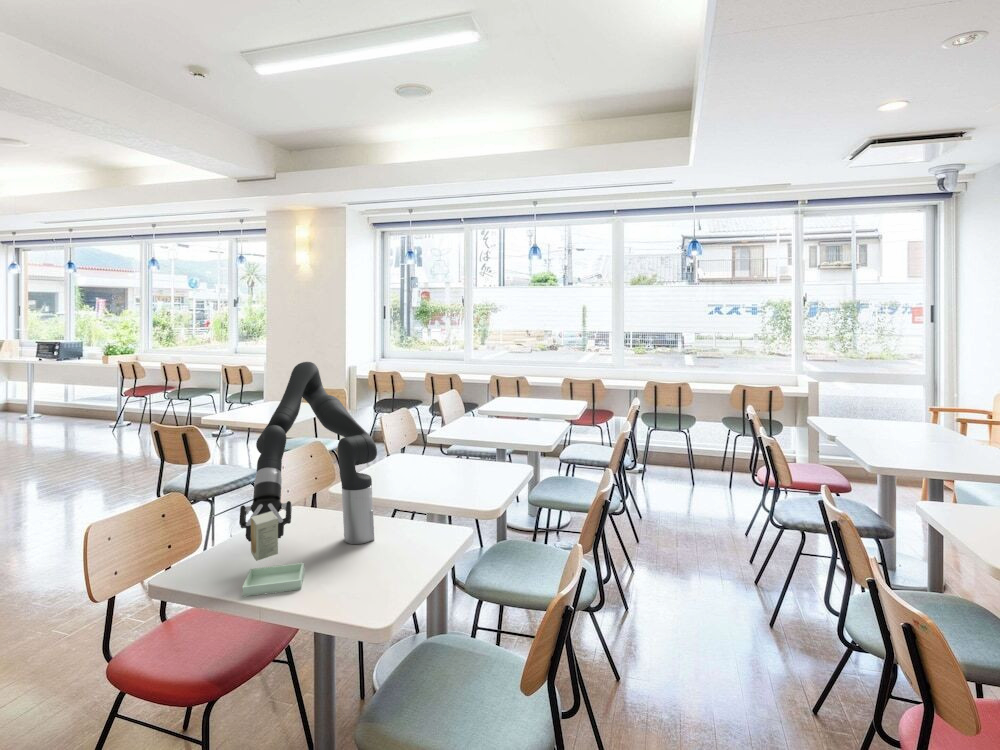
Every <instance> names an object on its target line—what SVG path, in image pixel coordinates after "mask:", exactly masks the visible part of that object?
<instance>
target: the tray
mask: <svg viewBox="0 0 1000 750" xmlns="http://www.w3.org/2000/svg"><path fill="white" fill-rule="evenodd" d="M304 576H305V562H298V563H290V564H288V563H287V564H282V565H273V566H264V567H257V568H250V569H249V571H248V572H247V576H246V578H245V581H244V583H243V585H242V597H243V596H246V597H250V596H249V595H253V596H258V595H257V594H261V595H266V594H265V593H269V594H276V593H275V592H277V593H283V592H284V591H285V592H290V591H298V590H302V586H303V582H304Z"/></svg>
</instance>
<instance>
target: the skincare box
mask: <svg viewBox="0 0 1000 750" xmlns="http://www.w3.org/2000/svg"><path fill="white" fill-rule="evenodd" d="M250 517H251V516H250ZM250 553H251V554H250V555H251V556H252V557H253V558H254V560H255V561H256V562H259V561H261V560H264V559H266V558H267V559H268V558H270V557H272V556H274V555H278V553H279V538H278V517H277V516H276V515H275V514H274V512H273V511H270V512H266V513H263V514H259V515H256V516H253V517H251V541H250Z"/></svg>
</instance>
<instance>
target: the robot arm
mask: <svg viewBox="0 0 1000 750" xmlns="http://www.w3.org/2000/svg"><path fill="white" fill-rule="evenodd" d="M302 399H303V400H304V401H306V402H307V404H308V405H309V406H310V408H311V410H312V412H313V413H314V415H315V416H316V418H317V420H318V421H319V422H320V424H321V425H322V426H323V428H325V430H328V431H330V432H331V433H335V434H337V435H339V436H341V437H342V438H340V440H339V441H338V443H337V458H338V467H339V477H340V478H339V479H340V481H341V496H342V497H341V499H342V517H343V518H342V519H343V523H342V524H343V538H344V539H343V540H344V542H345V543H347V544H350V545H361V544H365V543H368V542H372V541H375V526H374V524H375V523H374V521H375V520H374V504H373V486H372V485H373V483H372V482H373V479H372V476H371V475H369V474H368V473H363V472H357V470H356V466H360V465H365V464H369V463H372V462H373V461H374V460H375V459H376V458H377V456H378V449H377V446H376V442H375V440H374V439H373V437H371V435H370V434H369V433H368V432H367V431H366V430H365V429H364V428H363V427H362V426H361V425H360V424H359V423H358V422H357V420H355V419H354V418H353V416H352V415H351V414H350V413H349V411H348V410H347V409H346V407H345V405H343V403H342V402H341V401H340V400H339V398H338V397H336V396H334V395H331V394H330V395H329V394H328V393H327V392H326V390H325V388H324V386H323V381H322V379H321V373H320V371H319V368H318V366H317V364H316V363H314V362H312V361H303V362H300V363H298V364H296V365H295V366H294V368H292V371H291V373H290V377H289V380H288V383H287V385H286V387H285V390H284V393H283V395H282V397H281V400H280V402H279V404H278V405H277V407H276V409H275V411H274V412H273V414H272V416H271V418H270V420H269V422H268V423H267V425H266V427H265V428H264V429H263V431H262V432H261V433H260V435H259V437H258V438H257V440H256V445H255V446H256V449H257V451H258V453H259V454H260V455H259V456H258V459H257V462H256V463H257V464H256V474H255V478H254V482H253V497H252V504H251V505H249V506H245V505H241V506H240V509H239V523H238V524H239V526H240V528H241V529H245V539H246V540H248V541H247V542H250V543H251V517H253V516H256V515H259V514H263V513H266V512H270V511H273V512H274V514H275V515H276V516H277V517H278V539H281V538H282V537H283V536H284V531H285V525H287V524H291V522H292V509H293V505H292V502H291V501H290V500H289V501H286V502H283V503H282V502H281V501H282V499H281V498H282V483H283V481H282V480H283V478H282V469H283V468H282V465H283V464H282V462H283V457H284V452H285V450H286V449H285V448H286V445H287V433H288V432H289V431H290V429H291V428H292V427H293V425H294V423H295V422H296V420H297V417H298V416H299V413H300V409H301V405H302ZM282 509H283V510H284V511H285V517H284V518H283V517H282V516H281V515H280V513H279V512H280V511H281V510H282ZM250 511H251V512H252V514H251V516H250V517H249V519H248V520H247V515H249V513H250Z"/></svg>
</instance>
